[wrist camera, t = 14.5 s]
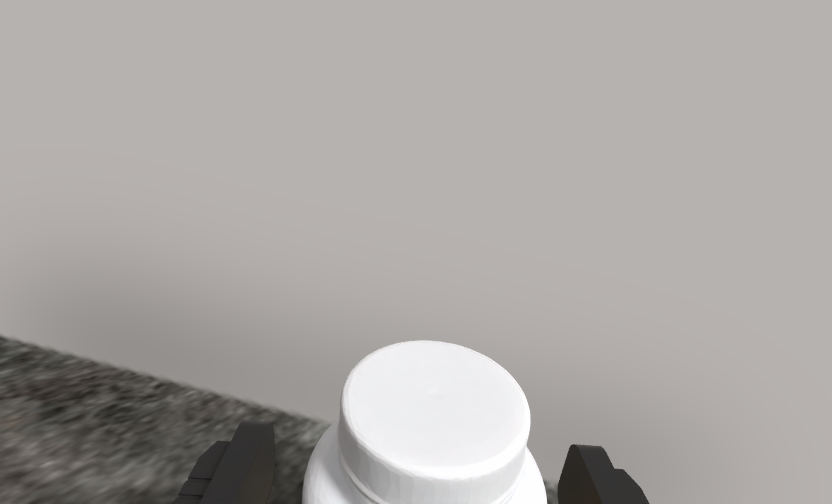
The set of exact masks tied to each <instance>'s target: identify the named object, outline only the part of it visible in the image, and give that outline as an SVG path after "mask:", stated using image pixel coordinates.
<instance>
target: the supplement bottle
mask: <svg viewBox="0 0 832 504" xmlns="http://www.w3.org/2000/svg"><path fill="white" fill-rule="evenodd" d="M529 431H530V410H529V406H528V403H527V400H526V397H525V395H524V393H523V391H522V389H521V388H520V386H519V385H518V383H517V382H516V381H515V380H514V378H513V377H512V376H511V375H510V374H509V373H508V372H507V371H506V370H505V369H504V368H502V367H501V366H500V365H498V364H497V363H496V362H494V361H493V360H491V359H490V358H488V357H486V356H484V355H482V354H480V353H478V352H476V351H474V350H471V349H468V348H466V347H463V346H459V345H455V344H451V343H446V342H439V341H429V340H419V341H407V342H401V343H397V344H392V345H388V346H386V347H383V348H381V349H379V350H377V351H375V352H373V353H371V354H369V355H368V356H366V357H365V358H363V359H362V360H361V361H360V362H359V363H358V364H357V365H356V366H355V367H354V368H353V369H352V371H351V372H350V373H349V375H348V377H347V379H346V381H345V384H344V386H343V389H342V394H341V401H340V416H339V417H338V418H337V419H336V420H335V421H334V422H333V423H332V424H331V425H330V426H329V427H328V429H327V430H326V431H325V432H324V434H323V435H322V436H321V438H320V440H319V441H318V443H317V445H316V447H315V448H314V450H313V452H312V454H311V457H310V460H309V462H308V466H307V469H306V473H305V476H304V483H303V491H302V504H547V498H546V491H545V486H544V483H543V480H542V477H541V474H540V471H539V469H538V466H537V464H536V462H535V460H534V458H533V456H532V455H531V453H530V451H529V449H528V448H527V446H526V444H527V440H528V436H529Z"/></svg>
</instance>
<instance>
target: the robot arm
mask: <svg viewBox="0 0 832 504" xmlns="http://www.w3.org/2000/svg"><path fill="white" fill-rule="evenodd" d="M274 474H275V446H274V429H273V424H272V422H258V421H242V422H241V423H240V425H239V427H238V429H237V430H236V432H235V434H234V436H233V438H232V440H231V442H227V441H217V442H216V443H215V444H214V445H212V446H211V447H210V448H209V449H208V450H207V451H206V452H205V453H204V454H203V455H202V456H201V457H200V458H199V459H198V461H197V463H196V465H195V466H194V468H193V470H192V472H191V473H190V475H189V477H188V481H186V482H185V484H184V486H183V487H182V489H181V491H180V493H179V496H178V498H176V500H175V501H174V503H173V504H266V502H267V499H268V496H269V493H270V490H271V487H272V484H273V479H274ZM558 502H559V504H649V502H648V500H647V498H646V497H645V495H644V493H643V491H642V489H641V488H640V486H638V484H637V483H636V482H635V481H634V480H633V479H632V478H631V477H630V476H629V475H628V474H627V473H626V472H625V471H624V470H623V469H614V467H613V465H612V463H611V461H610V459H609V457H608V455H607V453H606V451H605V450H604V449H603V448H602V447H601V446H589V445H588V446H587V445H574V444H573V445H571V446H570V448H569V451H568V454H567V458H566V460H565V464H564V467H563V470H562V473H561V477H560V480H559V483H558Z"/></svg>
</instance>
